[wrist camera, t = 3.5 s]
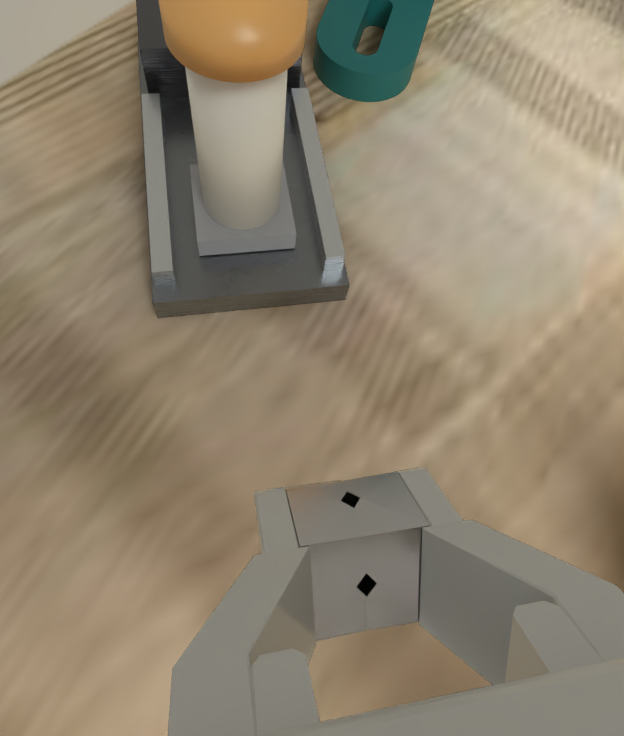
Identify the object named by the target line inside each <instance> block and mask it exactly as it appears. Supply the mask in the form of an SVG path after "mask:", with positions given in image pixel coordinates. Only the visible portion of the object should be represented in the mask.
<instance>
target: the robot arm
mask: <svg viewBox="0 0 624 736" xmlns="http://www.w3.org/2000/svg"><path fill="white" fill-rule="evenodd" d="M255 506H256V515H257V525H258V534H259V544H260V553H261V554H258V555H254V556H253V557H252V559H251V560H250V561H249V563H248V564H247V566H246V567H245V568H244V570H243V571H242V573H241V574H240V575H239V577H238V578H237V579H236V581H235V582H234V584H233V585H232V586H231V588H230V589H229V591H228V592H227V593H226V595H225V596H224V597H223V599H222V600H221V602H220V603H219V604H218V606H217V607H216V609H215V610H214V611H213V613H212V614H211V615H210V617H209V618H208V620H207V621H206V622H205V624H204V625H203V627H202V628H201V629H200V631H199V632H198V633H197V635H196V636H195V638H194V639H193V640H192V642H191V643H190V645H189V646H188V647H187V649H186V650H185V651H184V653H183V654H182V656H181V657H180V658H179V660H178V661H177V663H176V664H175V665H174V667H173V668H172V682H171V696H170V710H169V724H168V736H624V593H623V592H622V591H621V590H620V589H619V588H618V587H617V586H616V585H615V584H612V583H610V582H608V581H606V580H604V579H601V578H599V577H597V576H595V575H593V574H590V573H588V572H586V571H584V570H582V569H579V568H577V567H575V566H573V565H571V564H568V563H566V562H564V561H562V560H560V559H557V558H555V557H553V556H551V555H549V554H547V553H544V552H542V551H540V550H538V549H536V548H533V547H531V546H529V545H527V544H525V543H522V542H520V541H518V540H516V539H514V538H511V537H509V536H507V535H505V534H503V533H500V532H498V531H496V530H494V529H492V528H489V527H487V526H485V525H483V524H481V523H478V522H476V521H474V520H466V521H463V519H462V518H461V516H460V515H459V514H458V512H457V511H456V509H455V508H454V507H453V505H452V504H451V502H450V501H449V500H448V498H447V497H446V495H445V494H444V493H443V491H442V490H441V489H440V487H439V486H438V484H437V483H436V482H435V480H434V479H433V477H432V476H431V475H430V473H429V472H428V470H427V469H426V468H423V467H417V468H412V469H406V470H401V471H395V472H392V473H386V474H380V475H374V476H368V477H362V478H356V479H350V480H344V481H341V480H338V481H330V482H322V483H314V484H306V485H298V486H290V487H285V488H283V487H281V488H274V489H268V490H261V491H255ZM415 622H419V625H421V626H422V627H423V628H424V629H425V630H427V631H428V632H429V633H430V634H431V635H433V636H434V637H435V638H436V639H438V640H439V641H440V642H441V643H442V644H444V645H445V646H446V647H447V648H448V649H450V650H451V651H452V652H453V653H455V654H456V655H457V656H458V657H459V658H461V659H462V660H463V661H464V662H465V663H467V664H468V665H469V666H470V667H472V668H473V669H474V670H475V671H476V672H478V673H479V674H480V675H481V676H482V677H484V678H485V679H486V680H487V681H489V682H490V683H491V684H492V685H491V686H486V687H482V688H477V689H472V690H467V691H463V692H458V693H453V694H449V695H444V696H439V697H434V698H430V699H425V700H420V701H416V702H411V703H406V704H402V705H397V706H392V707H387V708H383V709H378V710H373V711H369V712H364V713H359V714H355V715H350V716H345V717H340V718H336V719H331V720H326V721H322V722H320V720H319V715H318V710H317V706H316V701H315V696H314V692H313V687H312V682H311V677H310V673H309V668H308V665H309V662H310V659H311V657H312V654H313V651H314V649H315V646H316V641H320V640H324V639H329V638H333V637H338V636H343V635H347V634H352V633H356V632H361V631H365V630H371V629H377V628H384V627H390V626H396V625H403V624H409V623H415Z"/></svg>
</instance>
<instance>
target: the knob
mask: <svg viewBox="0 0 624 736" xmlns="http://www.w3.org/2000/svg"><path fill="white" fill-rule="evenodd" d="M158 1H159V7H160V13H161V19H162V25H163V31H164V37H165V42H166V44H167V47H168V49H169V50H170V52H171V53H172V55H173V56H174V57H175V58H176V59H177V60H178V61H179V62H180V63H181V64H182V65H184V66H185V69H186V77H187V84H188V92H189V99H190V107H191V114H192V122H193V129H194V137H195V144H196V152H197V159H198V164H193V165H190V173H191V183H192V194H193V204H194V214H195V224H196V234H197V243H198V249H199V255H200V256H205V255H217V254H230V253H242V252H254V251H267V250H279V249H291V248H295V243H296V229H295V223H294V218H293V213H292V207H291V202H290V196H289V191H288V186H287V180H286V175H285V169H284V164H283V143H284V125H285V107H286V89H287V71H288V68H290V67H291V66H292V65H293V64H294V63H295V62H296V61H297V60H298V59H299V57H300V56H301V54H302V52H303V49H304V46H305V38H306V26H307V14H308V2H309V0H158Z"/></svg>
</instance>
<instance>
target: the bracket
mask: <svg viewBox="0 0 624 736" xmlns="http://www.w3.org/2000/svg"><path fill="white" fill-rule="evenodd" d="M433 3H434V0H329V2H328V4H327V6H326V9H325V11H324V13H323V15H322V18H321V20H320V22H319V25H318V27H317V34H316V44H315V54H314V68H315V71H316V74H317V76H318V77H319V79H320V80H321V81H322V83H323V84H324V85H325V86H327V87H328V88H329V89H330V90H332V91H333V92H335V93H337V94H339V95H341V96H343V97H346V98H348V99H352V100H356V101H363V102H376V101H383V100H387V99H390V98H392V97H394V96H396V95H398V94H399V93H401V92H402V91H403V90H404V89H405V88H406V86H407V85H408V83H409V81H410V78H411V74H412V71H413V68H414V65H415V61H416V58H417V55H418V52H419V48H420V45H421V42H422V39H423V35H424V32H425V29H426V26H427V22H428V19H429V16H430V13H431V10H432V6H433ZM368 26H378V27H381V28H382V29H384V30H385V31H384V34H383V37H382V40H381V42H380V45H379V48H378V51H377V52H376V53H375V54H373V55H362V54H359V53H357V52H356V49H357V46H358V44H359V41H360V39H361V36H362V33H363V31H364V29H365V28H366V27H368Z"/></svg>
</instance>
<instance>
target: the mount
mask: <svg viewBox="0 0 624 736" xmlns="http://www.w3.org/2000/svg"><path fill="white" fill-rule="evenodd" d="M136 5H137V22H138V39H139V42H138V55H139V72H140V90H141V107H142V124H143V142H144V159H145V177H146V194H147V212H148V229H149V247H150V264H151V281H152V299H153V305H154V308H155V311H156V314H157V317H158V318H162V317H173V316H183V315H193V314H204V313H214V312H224V311H235V310H245V309H255V308H266V307H276V306H287V305H297V304H307V303H318V302H328V301H338V300H345V299H346V295H347V292H348V288H349V281H348V277H347V272H346V268H345V263H344V260H345V252H344V247H343V243H342V238H341V234H340V229H339V225H338V220H337V216H336V211H335V207H334V202H333V198H332V193H331V189H330V184H329V180H328V175H327V171H326V166H325V162H324V157H323V153H322V148H321V144H320V139H319V135H318V130H317V126H316V121H315V117H314V112H313V108H312V104H311V99H310V95H309V90H308V88H306V86H305V82H304V77H303V73H302V68H301V62H302V54H301V56H300V57H299V59H298V60H297V61H296V62H295V63H294V64H293V65H292V66H291V67H290V68H288V71H287V89H286V107H285V125H284V143H283V164H284V169H285V175H286V180H287V186H288V191H289V196H290V202H291V207H292V213H293V218H294V223H295V229H296V243H295V248H291V249H279V250H267V251H254V252H242V253H230V254H217V255H205V256H200V255H199V249H198V243H197V234H196V224H195V214H194V204H193V194H192V183H191V173H190V165H193V164H198V159H197V152H196V144H195V137H194V129H193V122H192V114H191V107H190V99H189V92H188V84H187V77H186V69H185V66H184V65H182V64H181V63H180V62H179V61H178V60H177V59H176V58H175V57H174V56H173V55H172V53H171V52H170V50H169V49H168V47H167V44H166V42H165V37H164V31H163V25H162V19H161V13H160V7H159V1H158V0H136Z"/></svg>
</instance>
